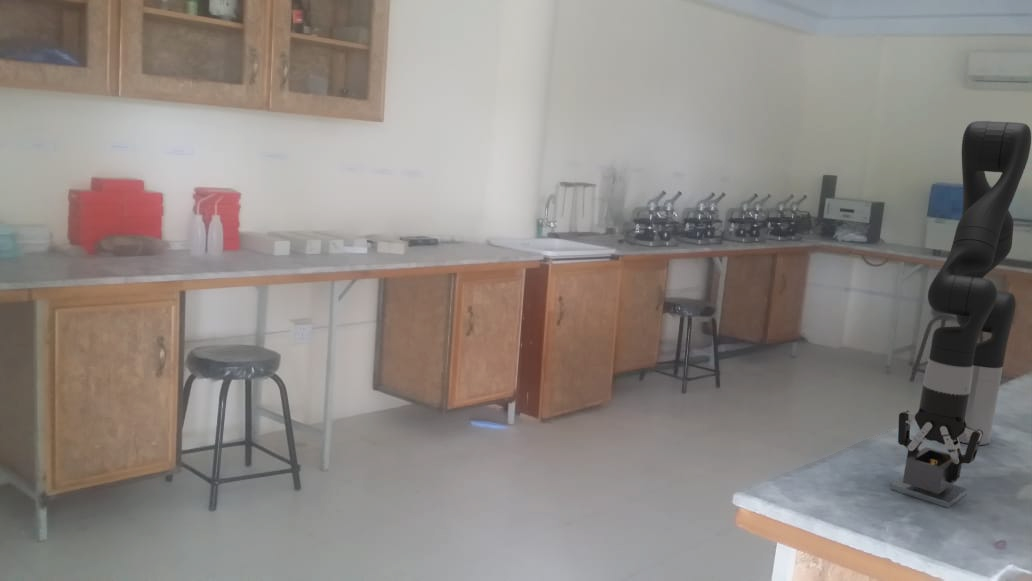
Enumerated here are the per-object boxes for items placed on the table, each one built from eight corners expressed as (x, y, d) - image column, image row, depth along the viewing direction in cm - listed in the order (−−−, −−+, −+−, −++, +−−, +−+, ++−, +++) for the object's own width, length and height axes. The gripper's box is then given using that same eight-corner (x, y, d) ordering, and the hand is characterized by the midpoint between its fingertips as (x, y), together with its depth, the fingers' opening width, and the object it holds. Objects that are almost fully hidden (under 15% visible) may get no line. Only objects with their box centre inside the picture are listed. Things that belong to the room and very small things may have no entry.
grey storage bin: (922, 470, 167) (926, 447, 166) (957, 480, 163) (961, 457, 162) (902, 482, 159) (906, 458, 159) (938, 493, 155) (943, 469, 155)
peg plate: (910, 476, 168) (915, 446, 167) (966, 494, 162) (972, 462, 161) (890, 489, 161) (895, 457, 160) (948, 507, 154) (954, 475, 153)
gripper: (996, 393, 156) (980, 483, 159) (912, 373, 165) (898, 459, 168) (983, 400, 151) (967, 494, 153) (897, 379, 160) (883, 468, 163)
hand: (931, 475), depth 161 cm, fingers closed on grey storage bin, 6 cm apart
